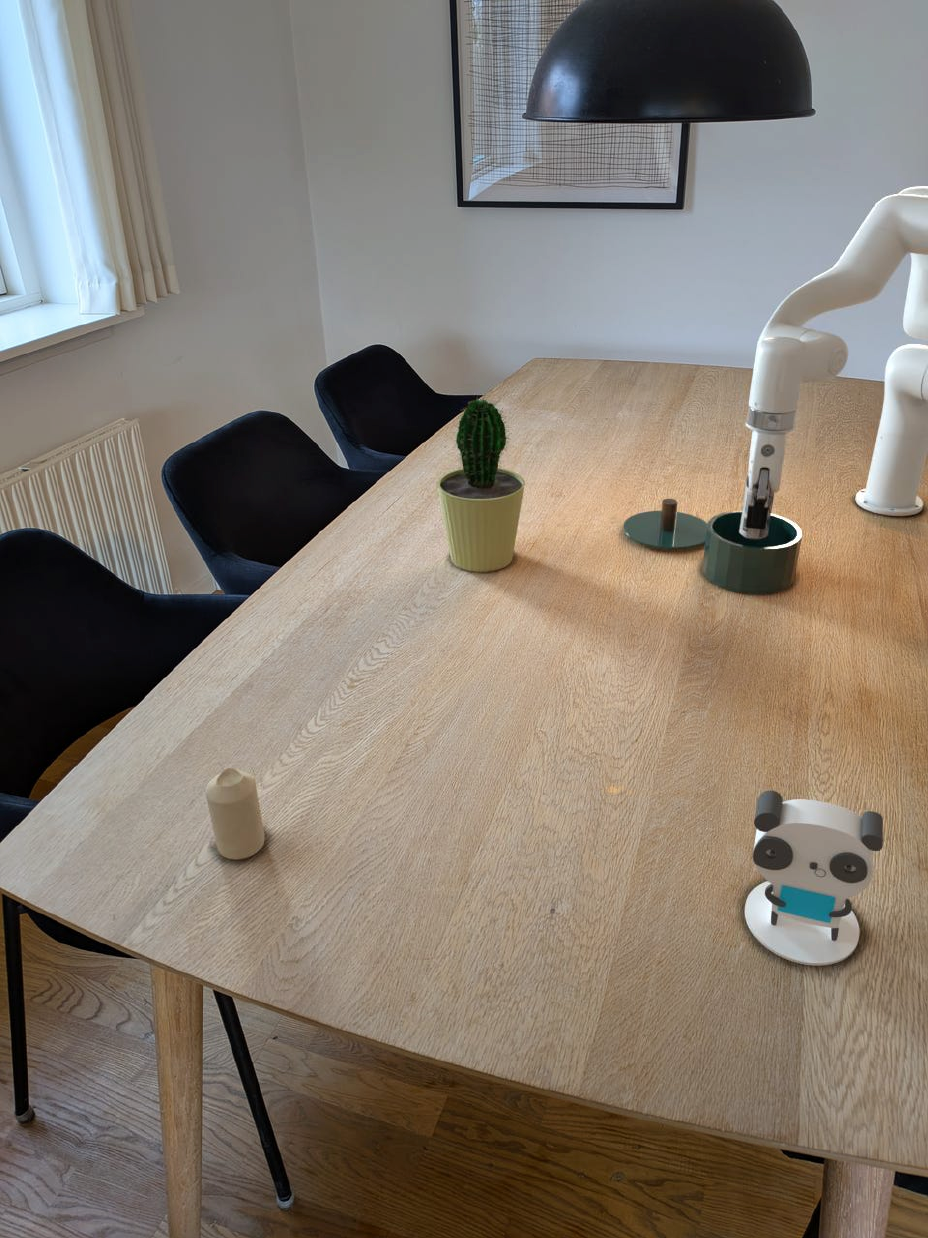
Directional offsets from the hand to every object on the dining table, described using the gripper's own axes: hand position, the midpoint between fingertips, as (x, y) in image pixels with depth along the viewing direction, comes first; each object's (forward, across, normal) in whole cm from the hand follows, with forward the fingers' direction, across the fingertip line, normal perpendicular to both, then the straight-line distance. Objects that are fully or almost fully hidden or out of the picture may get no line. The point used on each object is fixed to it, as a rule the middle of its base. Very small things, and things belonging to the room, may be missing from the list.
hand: (755, 520), depth 160 cm
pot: (+10, 0, 0) cm, 10 cm away
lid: (+9, +13, +15) cm, 22 cm away
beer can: (+3, 0, 0) cm, 3 cm away
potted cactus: (+10, -5, +47) cm, 48 cm away
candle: (+10, -83, +56) cm, 101 cm away
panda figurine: (+10, -79, -6) cm, 80 cm away
